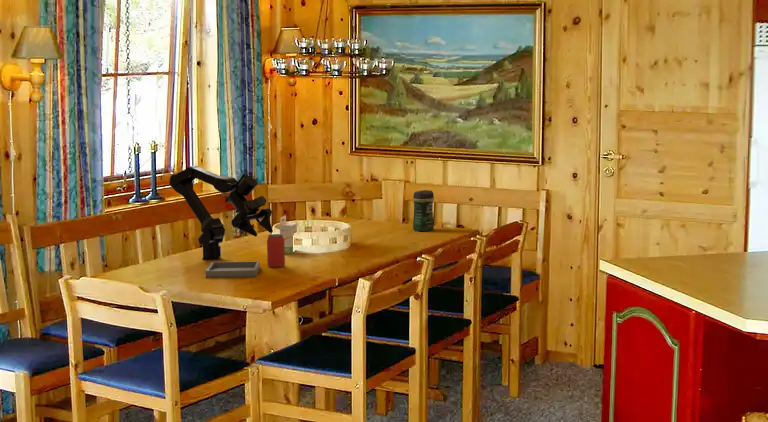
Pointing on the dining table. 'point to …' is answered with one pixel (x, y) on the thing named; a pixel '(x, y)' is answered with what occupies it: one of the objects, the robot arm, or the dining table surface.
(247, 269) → the parts tray
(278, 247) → the beer can
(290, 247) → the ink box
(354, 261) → the dining table surface
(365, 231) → the dining table surface
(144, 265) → the dining table surface
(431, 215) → the coffee jar
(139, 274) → the dining table surface
